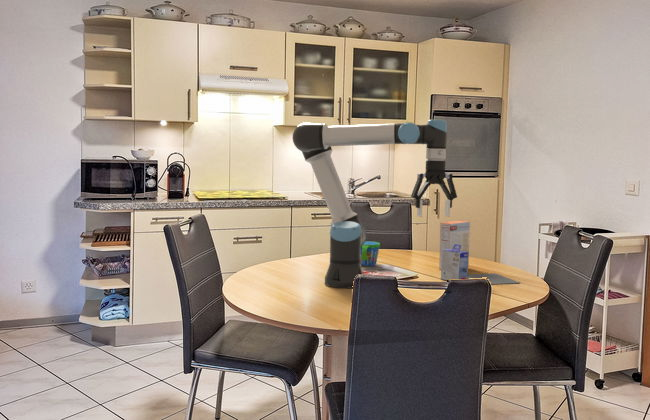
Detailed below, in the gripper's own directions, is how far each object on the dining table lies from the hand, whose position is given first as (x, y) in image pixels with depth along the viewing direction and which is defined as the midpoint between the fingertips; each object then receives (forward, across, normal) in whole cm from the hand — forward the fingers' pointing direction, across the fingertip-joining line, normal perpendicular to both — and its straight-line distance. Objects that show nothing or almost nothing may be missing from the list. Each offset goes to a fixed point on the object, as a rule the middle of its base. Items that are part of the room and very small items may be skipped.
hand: (433, 216), depth 232 cm
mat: (+26, +24, 0) cm, 35 cm away
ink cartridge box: (+26, +10, 0) cm, 28 cm away
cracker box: (+26, +21, +22) cm, 40 cm away
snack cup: (+26, -14, +36) cm, 47 cm away
